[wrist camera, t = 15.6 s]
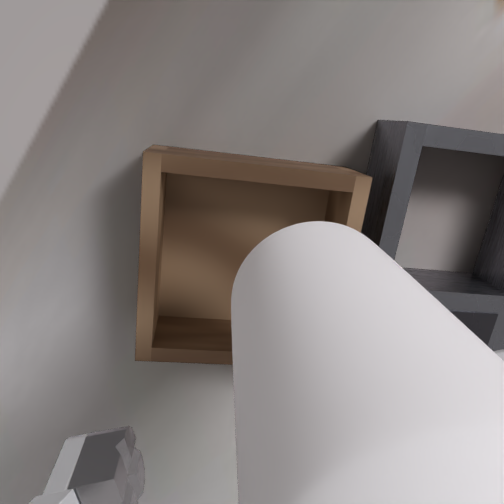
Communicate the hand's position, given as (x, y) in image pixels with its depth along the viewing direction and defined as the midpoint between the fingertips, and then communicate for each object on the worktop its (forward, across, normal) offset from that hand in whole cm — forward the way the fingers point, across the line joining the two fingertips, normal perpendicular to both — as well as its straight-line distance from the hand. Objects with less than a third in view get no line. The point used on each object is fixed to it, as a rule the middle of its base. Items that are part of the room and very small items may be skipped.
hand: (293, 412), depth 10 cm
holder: (+14, 0, 0) cm, 14 cm away
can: (+6, -2, 0) cm, 7 cm away
